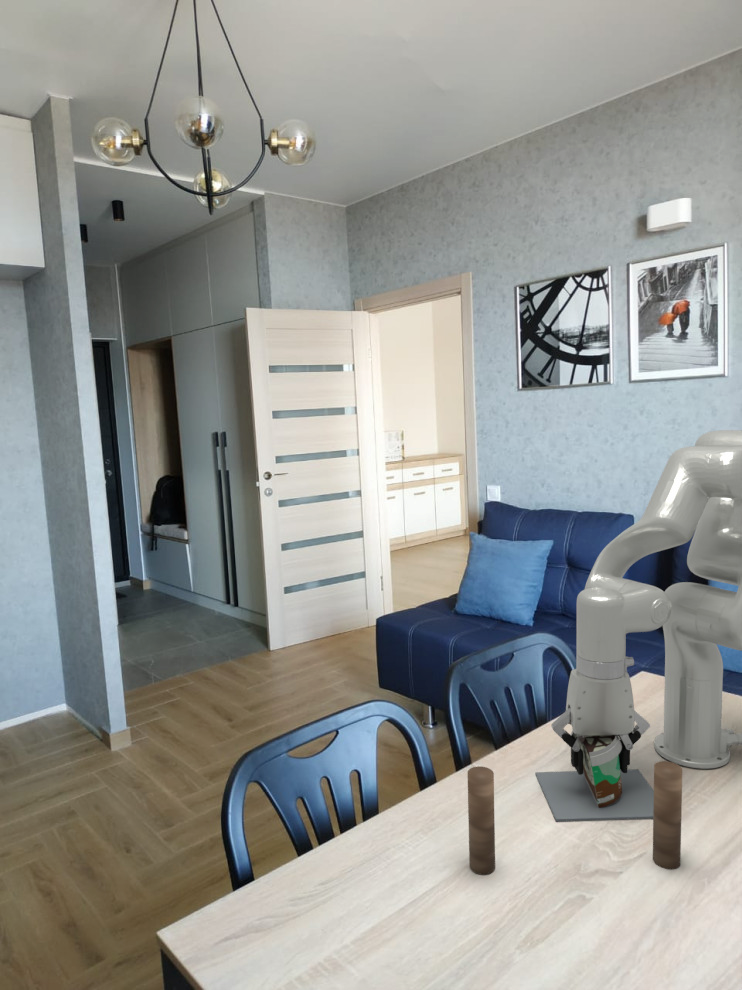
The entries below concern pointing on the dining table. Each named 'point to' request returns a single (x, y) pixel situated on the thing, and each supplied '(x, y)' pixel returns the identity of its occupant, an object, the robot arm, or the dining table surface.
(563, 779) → the charcoal mat
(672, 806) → the walnut post
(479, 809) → the walnut post
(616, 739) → the food container
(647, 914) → the dining table surface
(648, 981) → the dining table surface
